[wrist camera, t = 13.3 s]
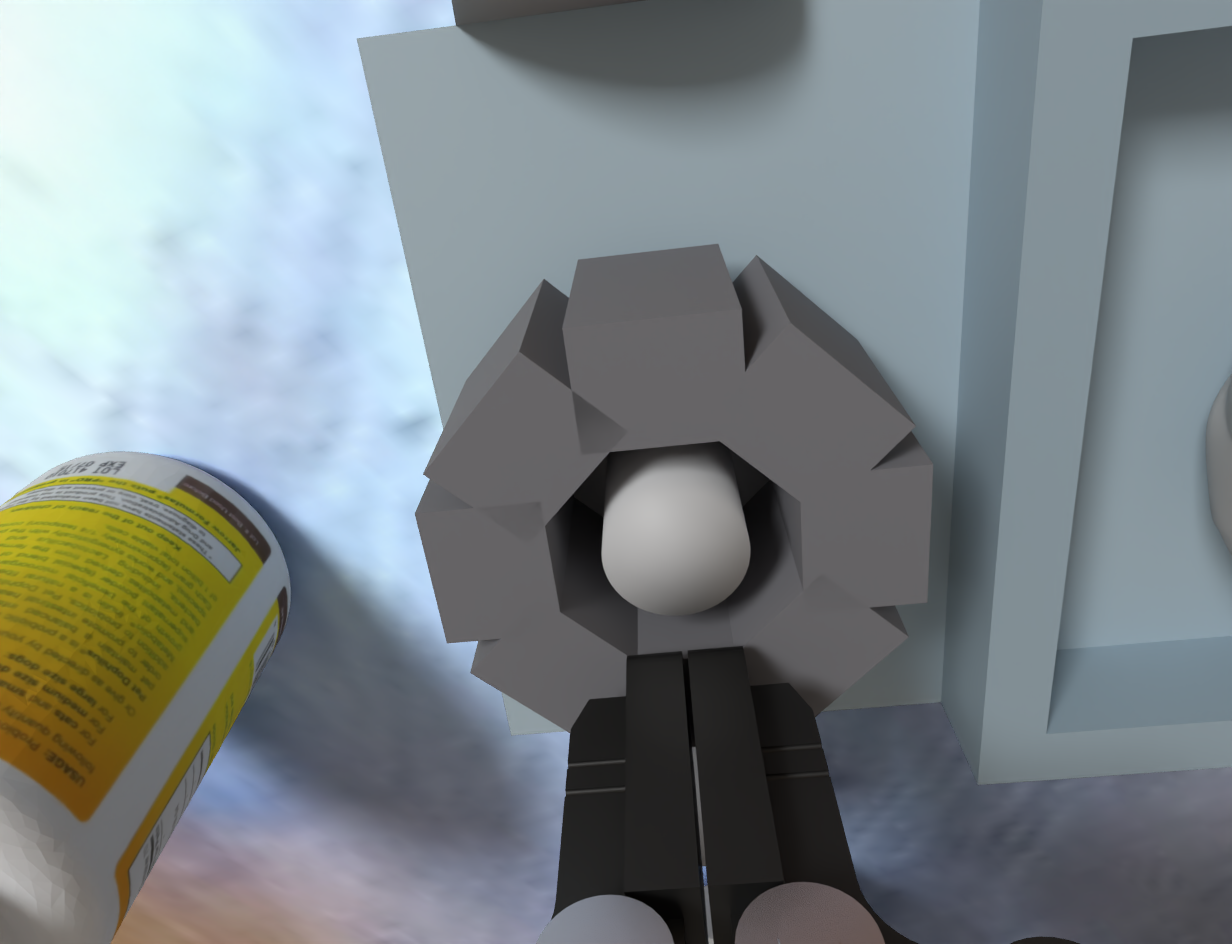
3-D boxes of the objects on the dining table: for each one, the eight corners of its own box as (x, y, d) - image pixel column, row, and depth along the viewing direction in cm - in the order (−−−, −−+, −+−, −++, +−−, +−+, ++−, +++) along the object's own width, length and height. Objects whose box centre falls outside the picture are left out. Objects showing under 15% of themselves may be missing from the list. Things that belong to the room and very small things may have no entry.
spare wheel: (429, 276, 12) (374, 348, 10) (872, 225, 12) (942, 287, 9) (504, 630, 15) (477, 763, 12) (869, 599, 15) (921, 730, 12)
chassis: (377, -85, 13) (194, -155, 8) (1853, -295, 12) (2893, -558, 6) (537, 710, 20) (499, 974, 15) (1492, 634, 19) (1850, 894, 13)
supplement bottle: (-18, 444, 17) (-730, 917, 8) (267, 433, 17) (-145, 905, 8) (75, 674, 20) (-394, 1229, 11) (325, 667, 20) (59, 1228, 11)
